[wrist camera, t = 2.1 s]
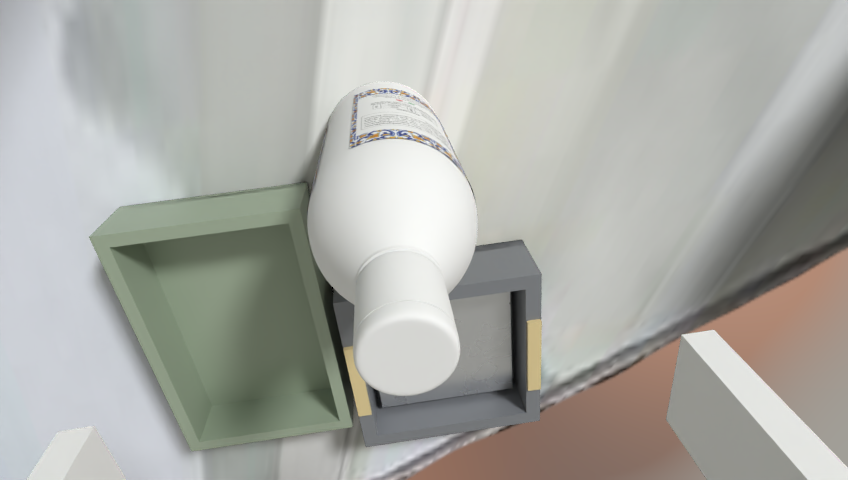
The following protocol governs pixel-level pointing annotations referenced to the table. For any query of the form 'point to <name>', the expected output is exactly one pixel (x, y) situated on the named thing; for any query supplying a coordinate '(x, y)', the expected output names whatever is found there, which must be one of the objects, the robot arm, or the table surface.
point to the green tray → (231, 313)
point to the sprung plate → (474, 351)
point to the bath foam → (393, 233)
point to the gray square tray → (520, 404)
